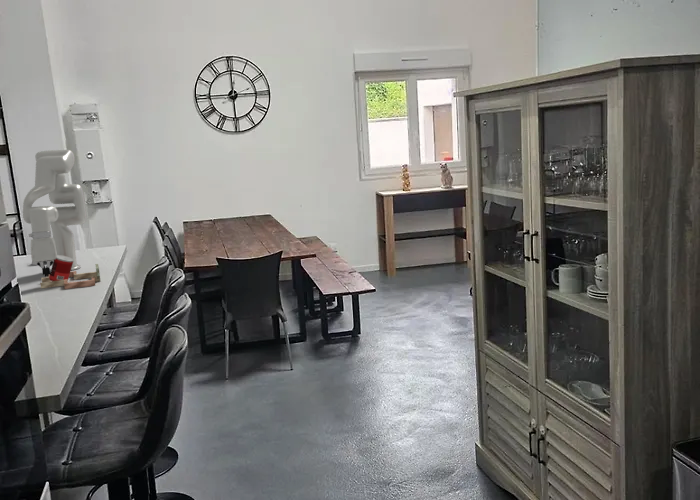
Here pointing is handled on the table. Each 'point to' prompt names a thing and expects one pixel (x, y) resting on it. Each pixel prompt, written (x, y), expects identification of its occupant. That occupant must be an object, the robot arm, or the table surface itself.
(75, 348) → the table surface
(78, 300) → the table surface
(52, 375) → the table surface
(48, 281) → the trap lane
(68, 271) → the canned food
